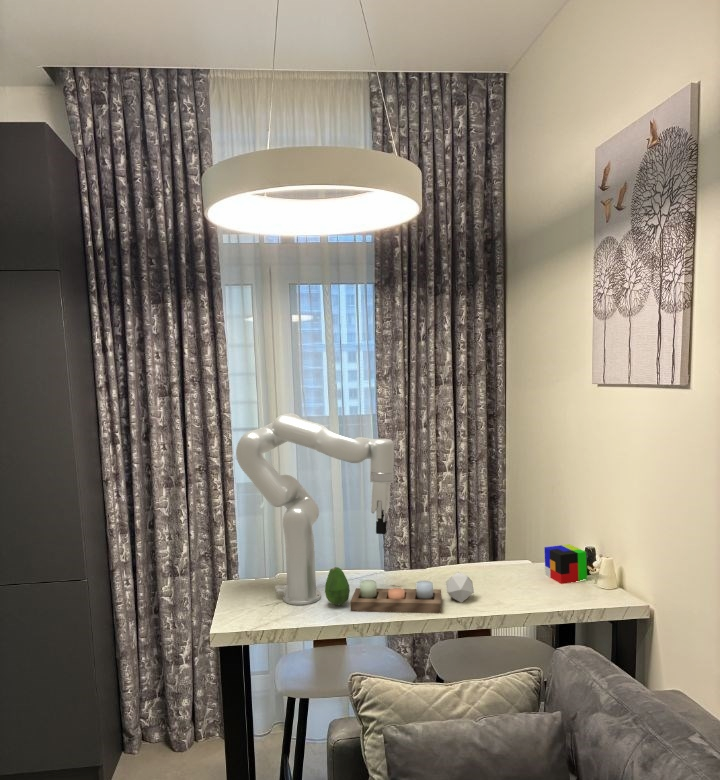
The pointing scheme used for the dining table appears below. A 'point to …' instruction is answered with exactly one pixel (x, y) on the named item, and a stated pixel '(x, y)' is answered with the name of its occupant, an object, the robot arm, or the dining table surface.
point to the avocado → (337, 587)
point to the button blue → (424, 589)
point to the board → (396, 602)
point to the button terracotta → (396, 593)
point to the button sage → (368, 589)
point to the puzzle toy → (565, 563)
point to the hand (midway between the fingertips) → (381, 533)
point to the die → (459, 586)
